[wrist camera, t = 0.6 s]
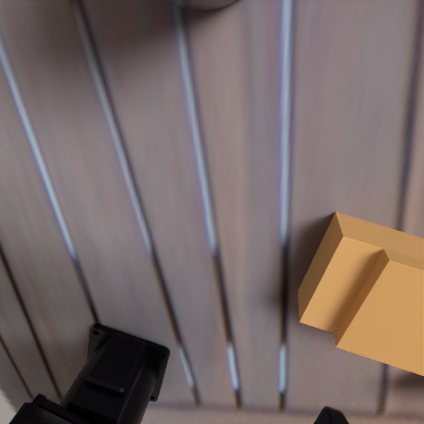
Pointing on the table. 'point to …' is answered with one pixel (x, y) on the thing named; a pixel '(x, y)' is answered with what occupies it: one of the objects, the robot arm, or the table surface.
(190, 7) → the supplement bottle
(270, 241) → the table surface
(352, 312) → the orange stepped block
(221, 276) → the table surface
